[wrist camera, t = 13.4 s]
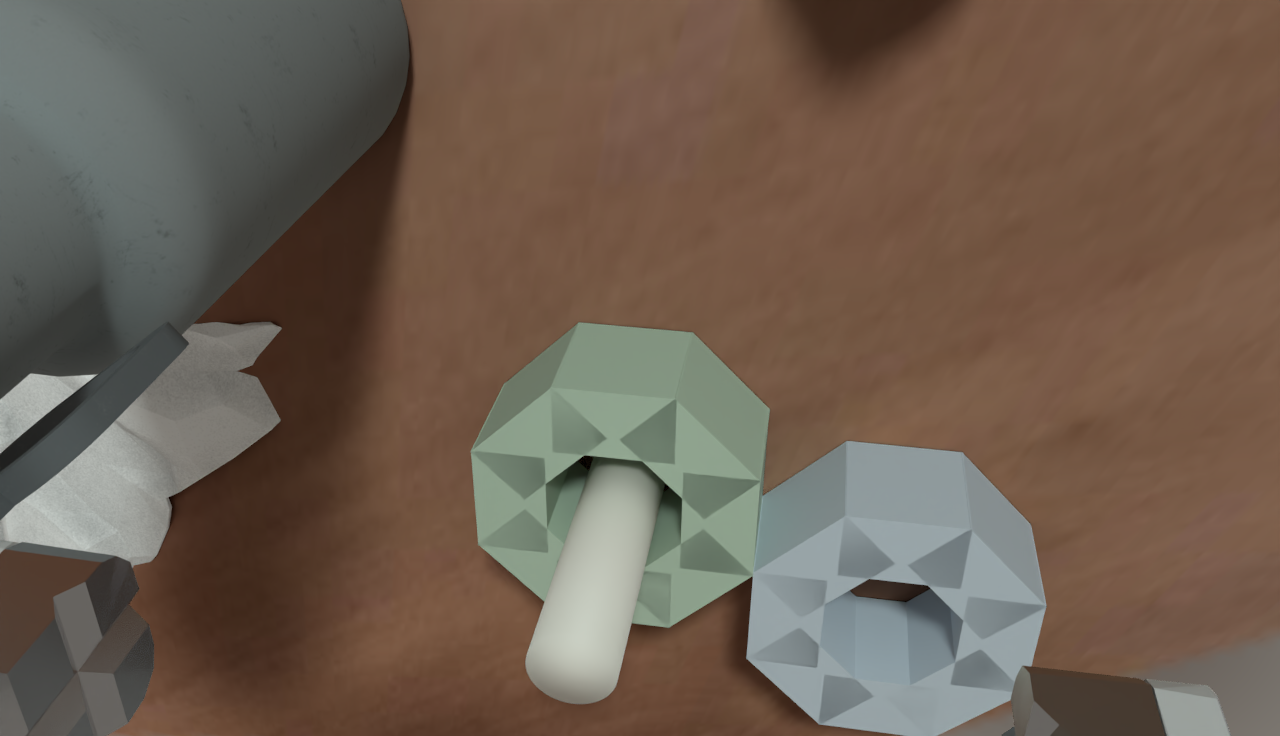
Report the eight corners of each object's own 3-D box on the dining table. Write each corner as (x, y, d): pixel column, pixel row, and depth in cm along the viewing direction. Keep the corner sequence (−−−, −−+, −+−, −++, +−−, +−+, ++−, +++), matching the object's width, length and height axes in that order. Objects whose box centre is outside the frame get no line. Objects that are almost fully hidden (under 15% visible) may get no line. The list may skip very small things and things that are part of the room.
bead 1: (775, 339, 42) (766, 407, 38) (757, 558, 47) (748, 637, 43) (500, 315, 43) (464, 378, 39) (512, 530, 48) (482, 605, 45)
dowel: (674, 415, 44) (618, 641, 34) (672, 475, 46) (618, 709, 36) (601, 407, 45) (523, 629, 35) (601, 467, 46) (527, 697, 36)
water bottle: (486, 72, 39) (-113, 734, 15) (289, 224, 43) (-423, 931, 19) (266, -205, 35) (-948, 82, 12) (75, -11, 39) (-1106, 491, 16)
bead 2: (1046, 460, 43) (1063, 538, 39) (999, 662, 48) (1011, 749, 44) (767, 432, 44) (757, 506, 40) (750, 632, 49) (741, 714, 45)
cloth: (199, 193, 44) (168, 218, 42) (422, 469, 48) (404, 502, 47) (-194, 450, 54) (-234, 480, 52) (24, 655, 59) (-5, 689, 57)
